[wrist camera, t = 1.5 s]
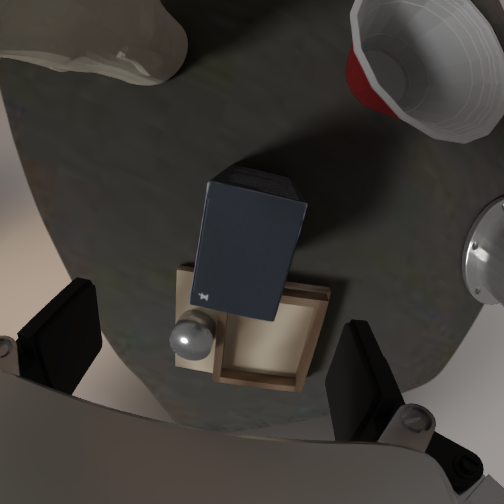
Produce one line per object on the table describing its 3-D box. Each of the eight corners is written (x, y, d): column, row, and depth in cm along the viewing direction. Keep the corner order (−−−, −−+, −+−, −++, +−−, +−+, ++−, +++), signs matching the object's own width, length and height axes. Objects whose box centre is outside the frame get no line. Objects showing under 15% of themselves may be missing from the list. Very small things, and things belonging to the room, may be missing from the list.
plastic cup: (449, 74, 22) (532, 58, 10) (395, 161, 25) (469, 184, 14) (355, 1, 20) (401, -63, 9) (293, 87, 24) (309, 52, 13)
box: (273, 260, 29) (274, 325, 19) (213, 246, 29) (184, 305, 19) (295, 177, 26) (310, 203, 17) (230, 162, 26) (205, 179, 16)
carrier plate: (329, 287, 30) (336, 308, 26) (302, 378, 34) (304, 403, 31) (179, 265, 30) (167, 284, 26) (177, 360, 34) (168, 383, 31)
